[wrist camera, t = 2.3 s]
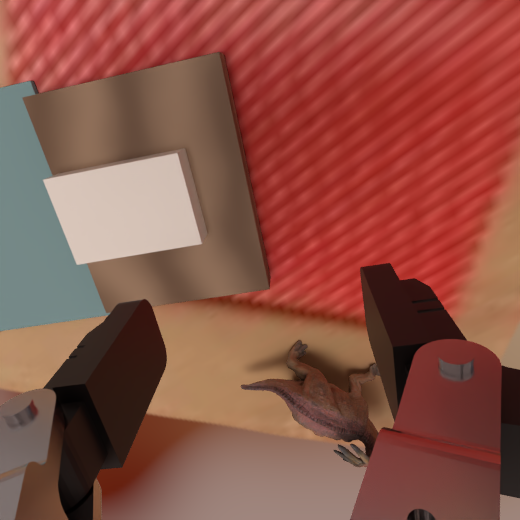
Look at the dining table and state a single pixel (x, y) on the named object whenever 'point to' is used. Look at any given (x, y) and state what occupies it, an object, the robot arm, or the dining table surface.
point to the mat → (34, 231)
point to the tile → (128, 207)
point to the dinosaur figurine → (326, 405)
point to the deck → (154, 142)
